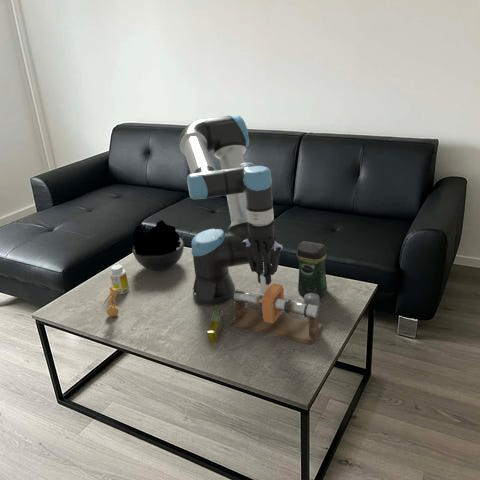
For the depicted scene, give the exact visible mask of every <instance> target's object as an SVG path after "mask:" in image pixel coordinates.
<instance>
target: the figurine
mask: <svg viewBox="0 0 480 480" xmlns="http://www.w3.org/2000/svg"><path fill="white" fill-rule="evenodd" d="M118 290H120V293H121V288H118V289H115V288H113V286H110V287H109V293H108V295H107V297H106V299H105V300H104V302H103V306H105V304H106V302H108V303H109V306H108V307H107V308H106V314H107V315H108V317H110V318H115V317H116V316H117V315H118V314H119V312H120V311H119V307H118V306H117V305H116V304H117V303H116V302H117V301H116V300H115V299H116V298H117V296H118V294H117V292H118ZM112 302H113V303H112Z"/></svg>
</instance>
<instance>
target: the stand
mask: <svg viewBox="0 0 480 480" xmlns="http://www.w3.org/2000/svg"><path fill="white" fill-rule="evenodd" d="M233 310H234V311H233V312H234V318H233V319H232V321H231V322H230V323H231V326H232V327H233V326H234V327H238V328H242V329H245V330H249V331H253V332H258V333H262V334H265V335H267V334H268V335H271V336H275V337H281V338H284V339H287V340H292V341H296V342H297V341H298V342H301V343H306V344H309V345H314V342H315V340H316V339H317V337H318V335H319V334H320V331H321V330H322V327H323V323H320V312H319V313H318V314H317V317H316V318H313V317H309V319H308V320H306V319H305V320H304V319H302V318H296V317H290V316H286V315H282V314H280V316H279V317H278V319H277V320H276V321H275V322H274V323H269V322H264V319H263V313H262V310H258V309H254V308H249V307H246V303H242V302H237V301H234V303H233Z"/></svg>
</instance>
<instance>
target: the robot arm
mask: <svg viewBox="0 0 480 480" xmlns="http://www.w3.org/2000/svg"><path fill="white" fill-rule="evenodd" d="M178 145H179V149H180V152H181V153H182V155H183V156H185V158H186V163H187V166H188V169H189V172H190V173H189V174H188V175H187V176H186V180H187V181H186V182H187V187H188V188H187V189H188V194H189V198H190V199H191V200H205V199H210V198H215V197H222V196H226V198H227V205H228V209H229V215H230V221H231V223H230V225H229V226H228V232H225V231H224V230H223V229H221V228H209V229H205V230H203V231H200V232H199V233H197V234H196V235H195V236H194V237H193V238H192V240H191V255H192V259H193V267H194V275H195V278H194V282H193V287H192V296H193V299H194V301H195V302H196V303H199V304H201V305H204V306H219V305H222V304H226V303H227V302H230V301H231V300H232V299H234V293H235V291H236V290H237V289H236V285H235V283H234V281H233V279H232V276H231V275H230V273H229V272H230V271H229V268H230V267H235V266H243V265H247V264H248V265H249V267H250V270H251V272H253V273H254V272H255V273H256V274H257V283H259V284H260V293H261V294H260V295H264V293H265V292H266V291H267V289H268V288H269V287H270V285H271V284H272V276H274V275H275V273H276V272H277V271H278V267H279V262H280V256H281V251H282V250H283V249H284V247H285V245H284V244H282V243H278V242H277V238H276V237H275V222H274V219H275V218H274V205H273V203H274V202H273V178H272V171H271V169H270V168H269V167H267V166H264V165H255V164H254V163H252V162H246V161H245V158H244V155H245V153H246V152H247V147H249V145H250V137H249V132H248V127H247V125H246V122H245V120H244V118H242V117H241V116H240V115H238V114H237V115H229V114H227V115H226V116H219V117H218V116H217V117H210V118H200V119H196V120H194V121H192V122H190V123H188V125H186V126H185V127H184V128H183V130H182V132H181V133H180V135H179V138H178ZM209 152H213V154H214V157H215V158H217V159H218V160H219V162H220V167H221V169H216V167H215V165H214V163H213V160H212V158H211V156H210V153H209ZM272 248H273V251H274V252H273V256H272V254H271V252H272ZM271 256H272V257H271ZM271 258H272V260H271Z"/></svg>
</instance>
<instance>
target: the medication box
mask: <svg viewBox="0 0 480 480" xmlns="http://www.w3.org/2000/svg"><path fill="white" fill-rule="evenodd" d="M223 322H224V315H223V310H222V309H213V313H212V316H211V319H210V322H209V326H208V329H207V331H206V333H207V340H208V343H217V342H218V341H219V336H220V335H221V334H220V333H221V330H222V326H223Z"/></svg>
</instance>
